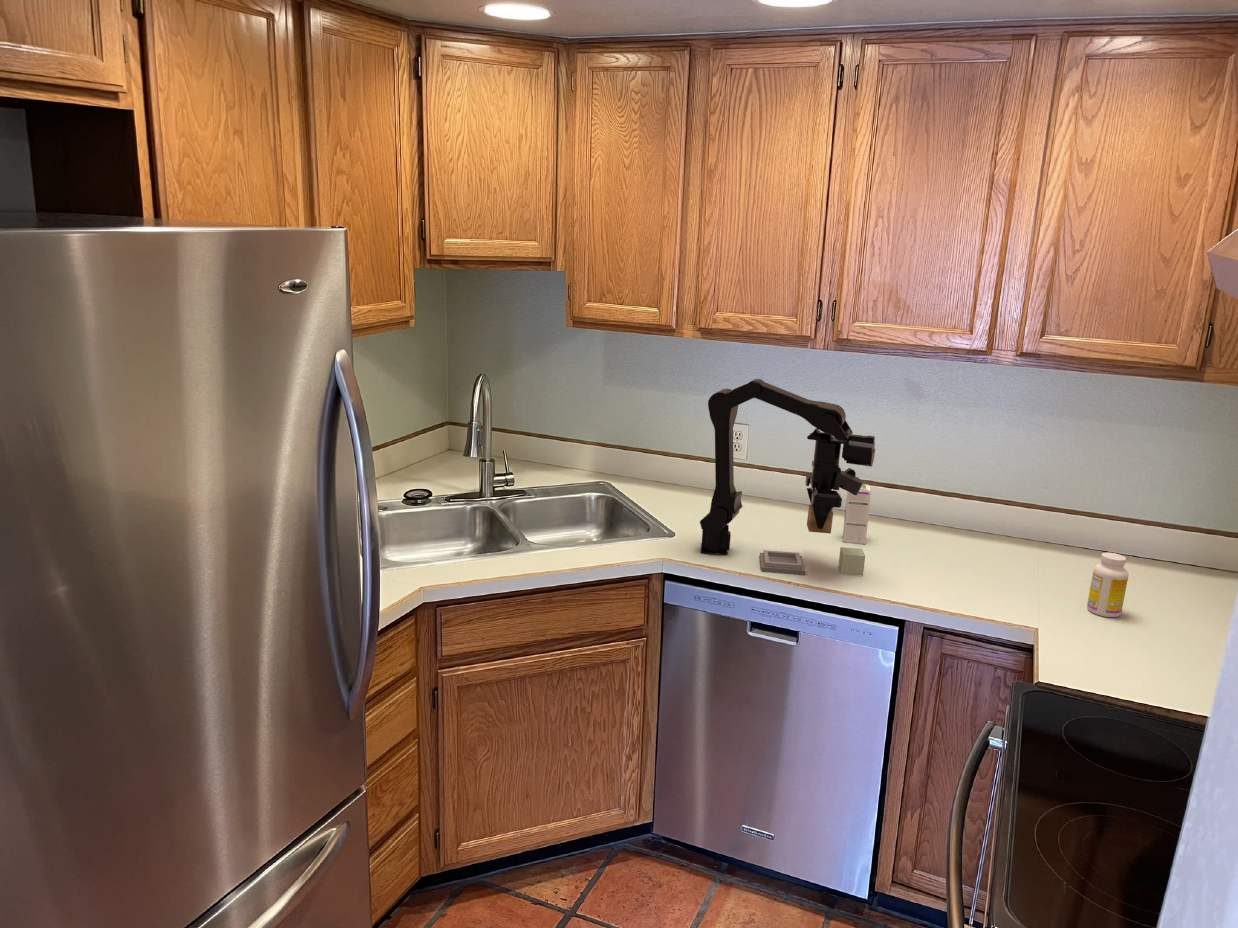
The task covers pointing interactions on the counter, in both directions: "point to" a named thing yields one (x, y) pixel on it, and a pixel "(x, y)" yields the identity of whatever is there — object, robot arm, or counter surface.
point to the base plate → (782, 562)
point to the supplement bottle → (1108, 586)
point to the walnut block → (813, 525)
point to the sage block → (851, 561)
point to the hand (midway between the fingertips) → (818, 524)
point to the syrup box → (857, 516)
